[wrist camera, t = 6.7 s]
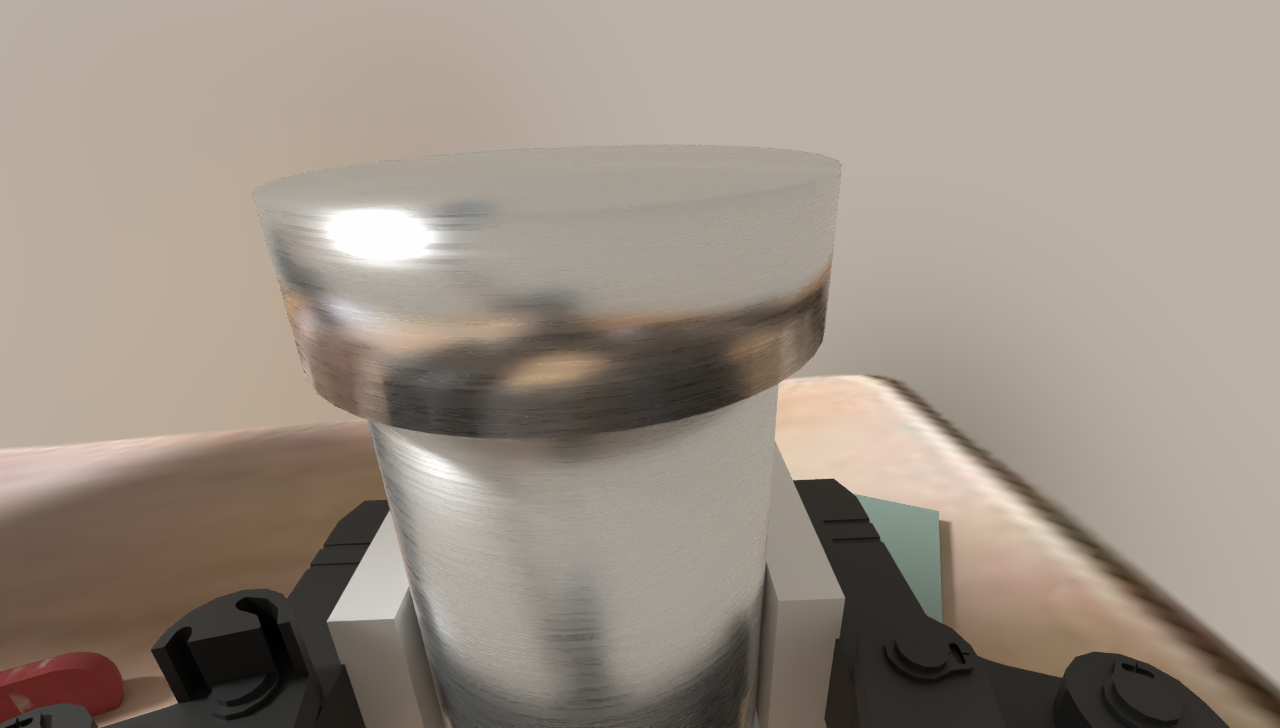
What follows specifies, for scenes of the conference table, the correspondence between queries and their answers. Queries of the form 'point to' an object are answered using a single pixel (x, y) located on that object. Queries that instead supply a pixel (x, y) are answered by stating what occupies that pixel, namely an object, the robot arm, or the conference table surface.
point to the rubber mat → (911, 547)
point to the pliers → (61, 685)
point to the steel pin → (569, 405)
